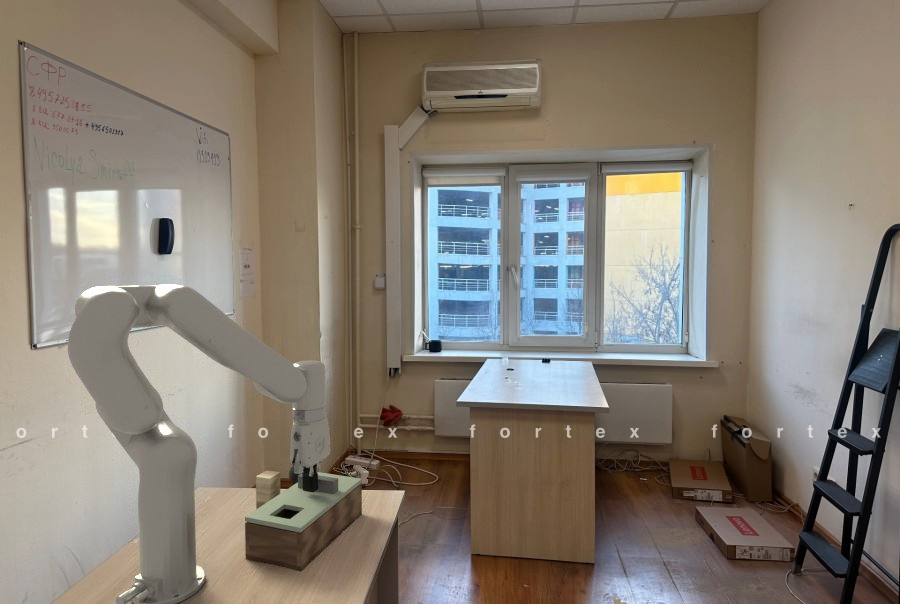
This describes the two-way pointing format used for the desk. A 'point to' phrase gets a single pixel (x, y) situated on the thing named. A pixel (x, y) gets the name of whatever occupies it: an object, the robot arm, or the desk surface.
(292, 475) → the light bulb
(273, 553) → the brown wooden box
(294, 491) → the lid
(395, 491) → the desk surface
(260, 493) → the block
